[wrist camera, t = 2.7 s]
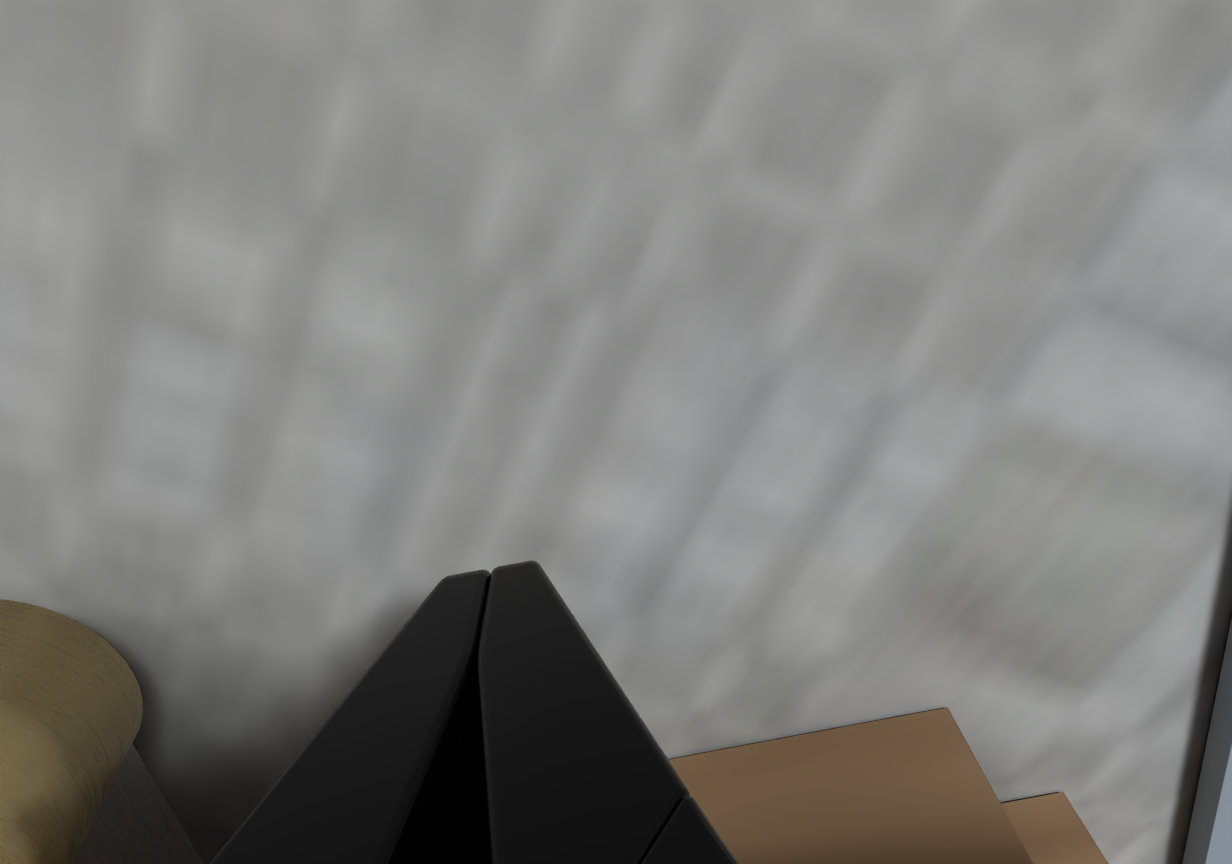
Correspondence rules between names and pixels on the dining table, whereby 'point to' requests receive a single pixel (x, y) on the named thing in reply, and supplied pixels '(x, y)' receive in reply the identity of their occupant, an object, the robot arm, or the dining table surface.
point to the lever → (75, 751)
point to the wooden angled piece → (877, 800)
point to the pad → (1215, 781)
